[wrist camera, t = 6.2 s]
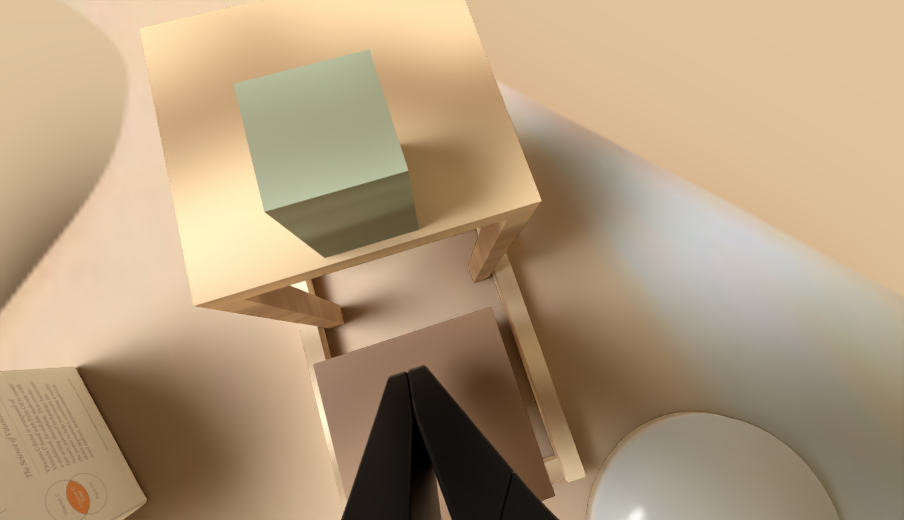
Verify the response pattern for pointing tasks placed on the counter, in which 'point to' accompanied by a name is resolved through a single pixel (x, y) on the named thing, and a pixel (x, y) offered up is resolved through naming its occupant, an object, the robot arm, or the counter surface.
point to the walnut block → (459, 371)
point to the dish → (705, 474)
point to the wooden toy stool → (329, 145)
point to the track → (548, 403)
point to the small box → (59, 452)
